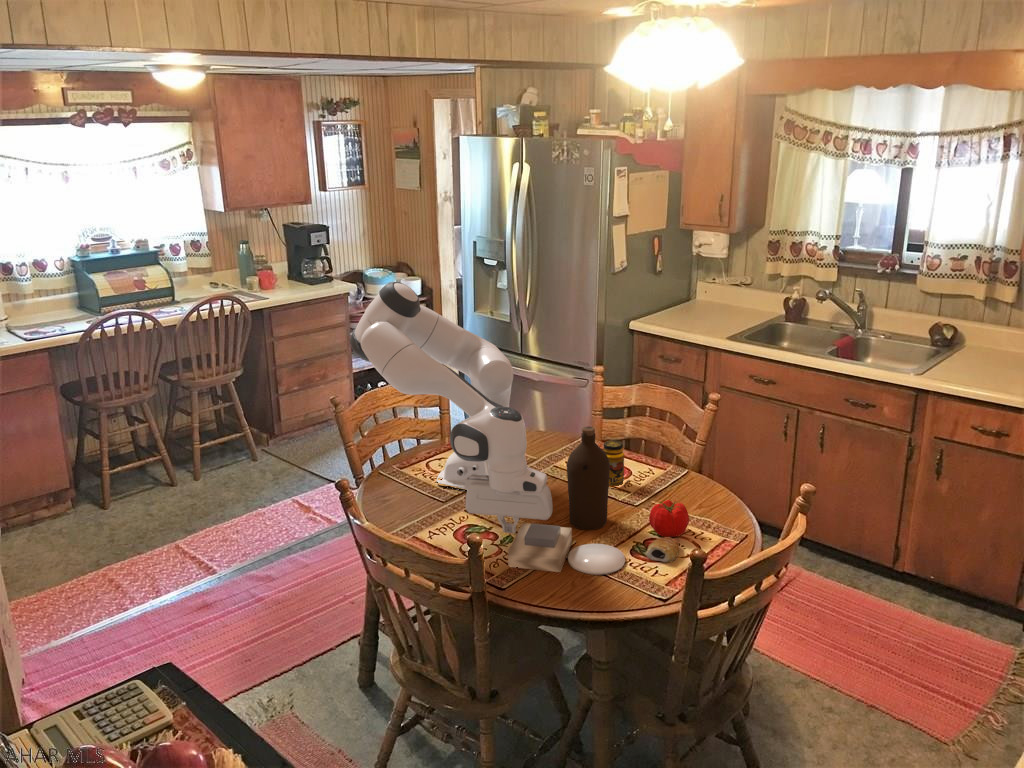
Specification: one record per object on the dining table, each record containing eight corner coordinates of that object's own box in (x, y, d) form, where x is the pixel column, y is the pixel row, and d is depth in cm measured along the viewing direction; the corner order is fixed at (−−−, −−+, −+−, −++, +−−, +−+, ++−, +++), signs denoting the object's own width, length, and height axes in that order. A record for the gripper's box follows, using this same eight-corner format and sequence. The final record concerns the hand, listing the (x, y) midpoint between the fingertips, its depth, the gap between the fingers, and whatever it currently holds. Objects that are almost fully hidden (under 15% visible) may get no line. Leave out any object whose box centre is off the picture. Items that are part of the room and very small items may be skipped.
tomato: (691, 528, 206) (692, 500, 204) (683, 544, 198) (684, 515, 196) (654, 521, 210) (654, 494, 208) (644, 537, 202) (645, 509, 200)
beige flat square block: (508, 566, 190) (508, 550, 189) (523, 538, 203) (522, 523, 202) (560, 572, 187) (560, 556, 186) (571, 543, 200) (571, 527, 199)
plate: (562, 571, 188) (562, 568, 187) (573, 544, 200) (573, 541, 199) (621, 577, 184) (621, 574, 184) (628, 549, 196) (628, 546, 196)
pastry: (658, 542, 200) (659, 527, 199) (686, 548, 197) (686, 534, 195) (643, 559, 192) (644, 544, 191) (671, 566, 189) (672, 551, 188)
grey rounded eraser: (524, 544, 191) (524, 537, 191) (531, 531, 198) (531, 523, 197) (554, 547, 190) (554, 540, 189) (560, 533, 196) (560, 526, 196)
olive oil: (616, 527, 207) (617, 432, 200) (576, 534, 204) (575, 438, 197) (599, 509, 217) (599, 419, 210) (561, 516, 214) (560, 424, 207)
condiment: (618, 490, 228) (619, 449, 225) (590, 484, 233) (590, 444, 229) (629, 480, 234) (630, 440, 231) (602, 475, 238) (602, 435, 235)
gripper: (460, 479, 191) (462, 533, 195) (547, 486, 186) (548, 542, 190) (468, 468, 197) (470, 521, 201) (553, 475, 192) (554, 529, 196)
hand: (509, 531), depth 195 cm, fingers closed
